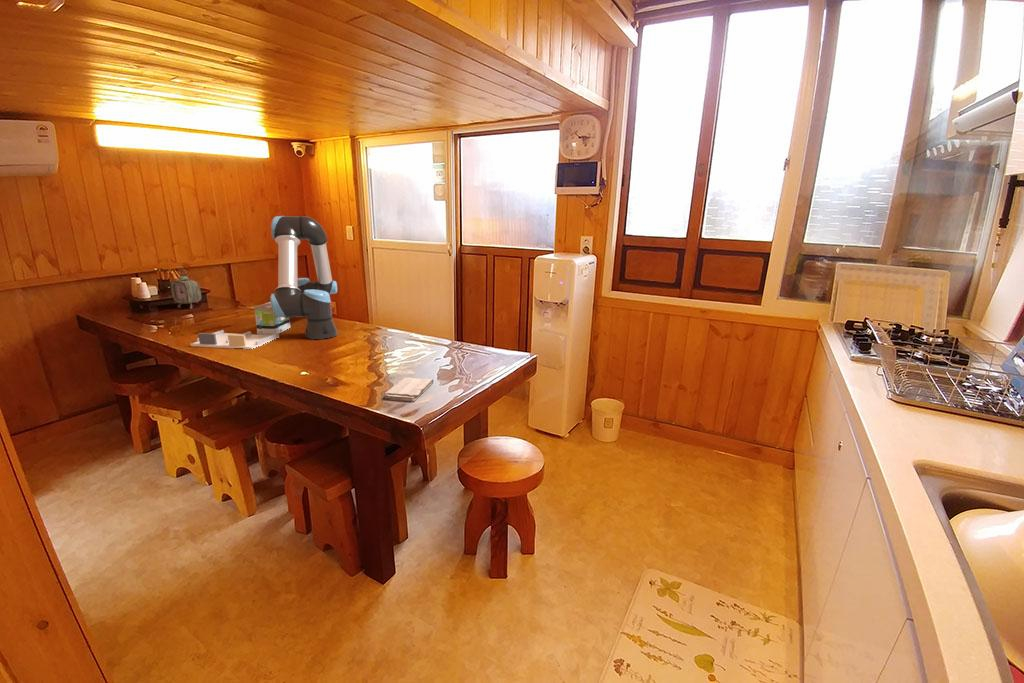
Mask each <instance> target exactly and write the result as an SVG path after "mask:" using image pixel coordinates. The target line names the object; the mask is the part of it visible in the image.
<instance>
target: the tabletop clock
mask: <svg viewBox="0 0 1024 683" xmlns="http://www.w3.org/2000/svg"><path fill="white" fill-rule="evenodd" d="M180 271H184V272H185V273H184V272H181V273H180ZM177 272H178V274H179V275H180V276H179V277H178V280H171V281H170V283H169V284H170V286H169V287H170V293H171V296H172V299H173V302H174V303H176V304H178V305H177V308H179V309H180V308H181V305H182V304H183V305H185V304H189V305H190V306H189V309H190V310H193V308H194V306H195V305H194V303H198V302H200V301H201V300H202V292H201V291H202V290H201V288H200V284H199V282H198V281H197V280H193V279H189V277H188V276H187V271H186V270H185V269H184V268H179V269H178V270H177Z"/></svg>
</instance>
